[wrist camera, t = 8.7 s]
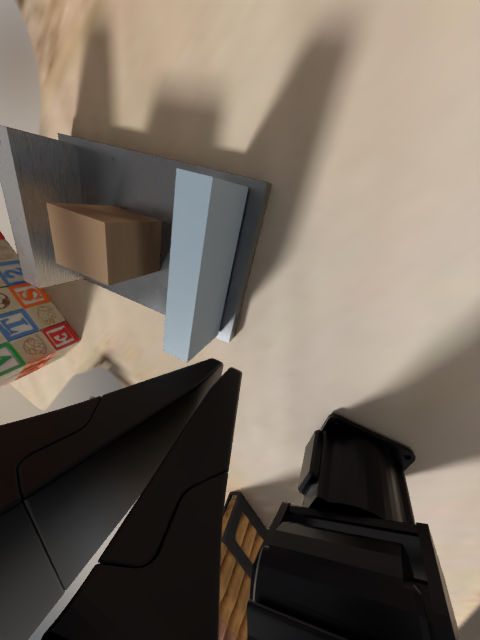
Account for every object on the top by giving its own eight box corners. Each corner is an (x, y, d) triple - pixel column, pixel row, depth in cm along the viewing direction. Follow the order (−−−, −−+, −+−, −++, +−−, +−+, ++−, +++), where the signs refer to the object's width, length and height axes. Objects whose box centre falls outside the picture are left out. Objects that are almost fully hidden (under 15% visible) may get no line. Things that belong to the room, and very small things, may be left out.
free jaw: (248, 187, 14) (212, 176, 11) (218, 334, 20) (187, 362, 16) (220, 180, 15) (176, 167, 11) (198, 325, 20) (163, 350, 16)
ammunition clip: (283, 553, 31) (251, 720, 20) (272, 551, 31) (235, 710, 21) (240, 491, 29) (182, 637, 19) (229, 491, 30) (169, 631, 20)
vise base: (271, 183, 15) (236, 169, 10) (233, 337, 21) (200, 373, 16) (70, 136, 20) (-17, 111, 15) (84, 273, 25) (25, 286, 21)
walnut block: (161, 221, 18) (104, 222, 14) (159, 271, 20) (108, 285, 16) (112, 205, 19) (46, 202, 15) (114, 253, 21) (56, 263, 17)
